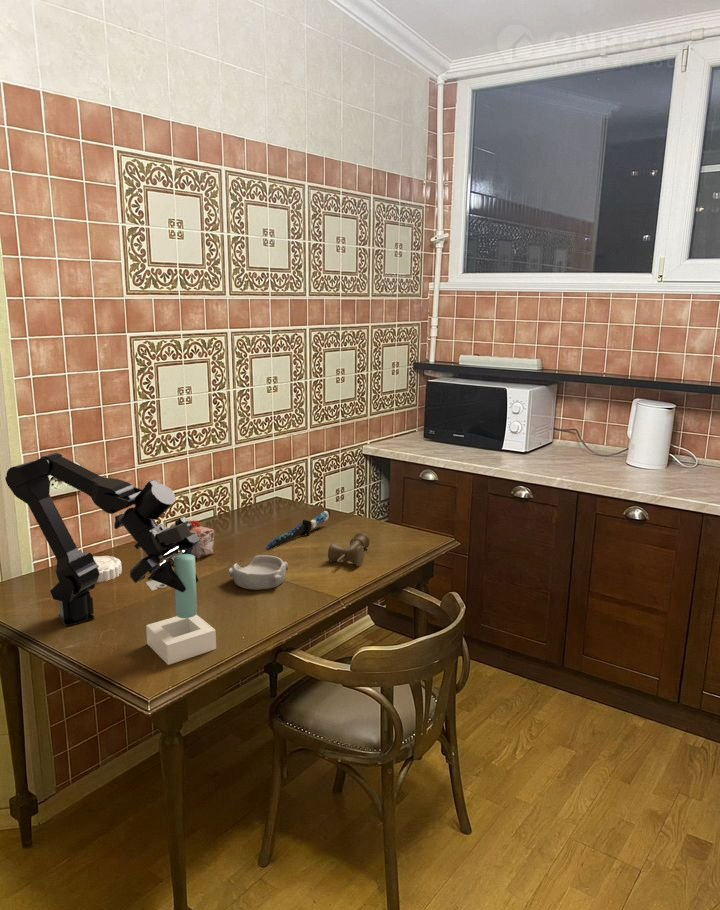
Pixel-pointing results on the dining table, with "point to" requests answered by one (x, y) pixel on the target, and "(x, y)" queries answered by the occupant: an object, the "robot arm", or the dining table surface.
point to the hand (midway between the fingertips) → (190, 586)
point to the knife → (299, 530)
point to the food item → (202, 540)
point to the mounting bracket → (155, 585)
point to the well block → (181, 638)
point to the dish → (260, 573)
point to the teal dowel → (186, 586)
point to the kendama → (350, 550)
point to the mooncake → (107, 567)
